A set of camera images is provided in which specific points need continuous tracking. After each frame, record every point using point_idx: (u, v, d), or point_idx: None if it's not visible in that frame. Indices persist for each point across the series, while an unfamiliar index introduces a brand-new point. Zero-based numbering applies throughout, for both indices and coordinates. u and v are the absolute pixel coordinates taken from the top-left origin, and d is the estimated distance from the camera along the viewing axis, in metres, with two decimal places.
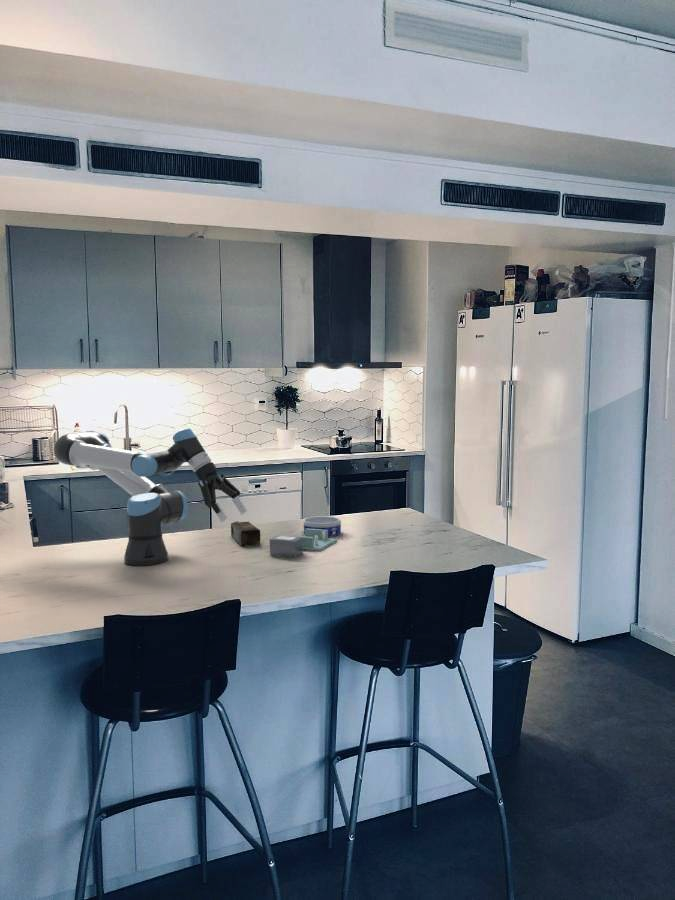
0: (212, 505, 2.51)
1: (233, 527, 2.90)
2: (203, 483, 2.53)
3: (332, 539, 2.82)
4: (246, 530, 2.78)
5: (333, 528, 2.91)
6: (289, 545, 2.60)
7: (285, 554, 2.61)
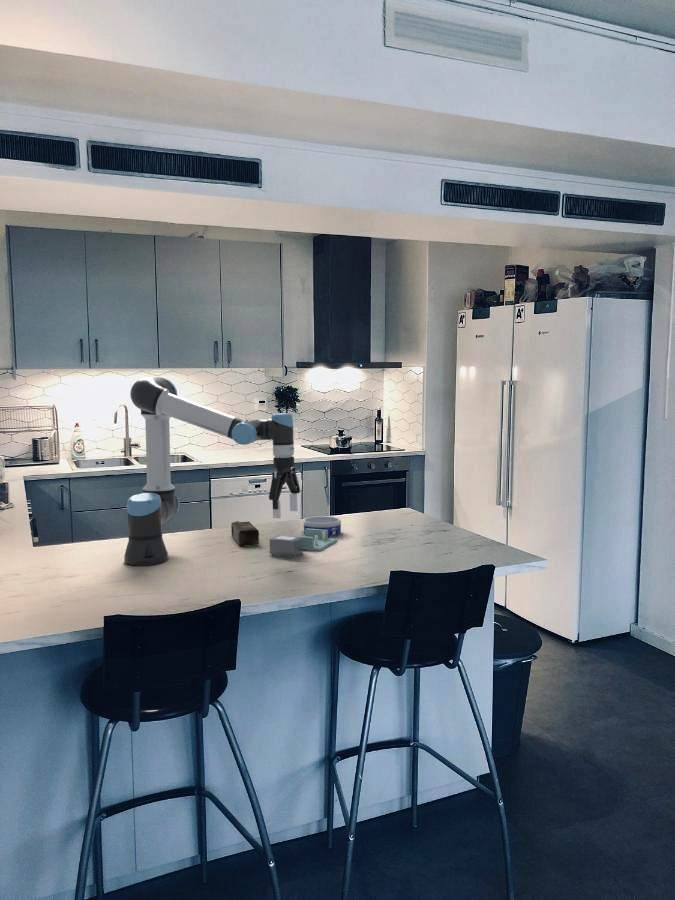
0: (274, 500, 2.54)
1: (233, 527, 2.90)
2: (277, 476, 2.55)
3: (332, 539, 2.82)
4: (244, 530, 2.78)
5: (333, 528, 2.91)
6: (289, 545, 2.60)
7: (285, 554, 2.61)
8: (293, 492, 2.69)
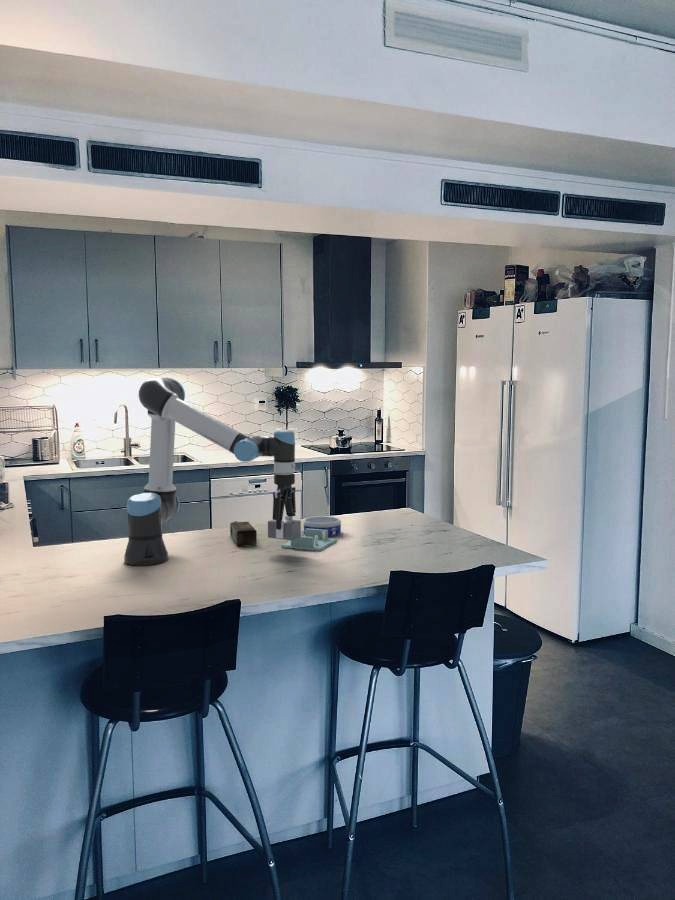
0: (277, 521, 2.58)
1: (232, 527, 2.90)
2: (278, 497, 2.56)
3: (332, 539, 2.82)
4: (242, 530, 2.77)
5: (333, 528, 2.91)
6: (287, 527, 2.59)
7: None
8: (289, 515, 2.67)
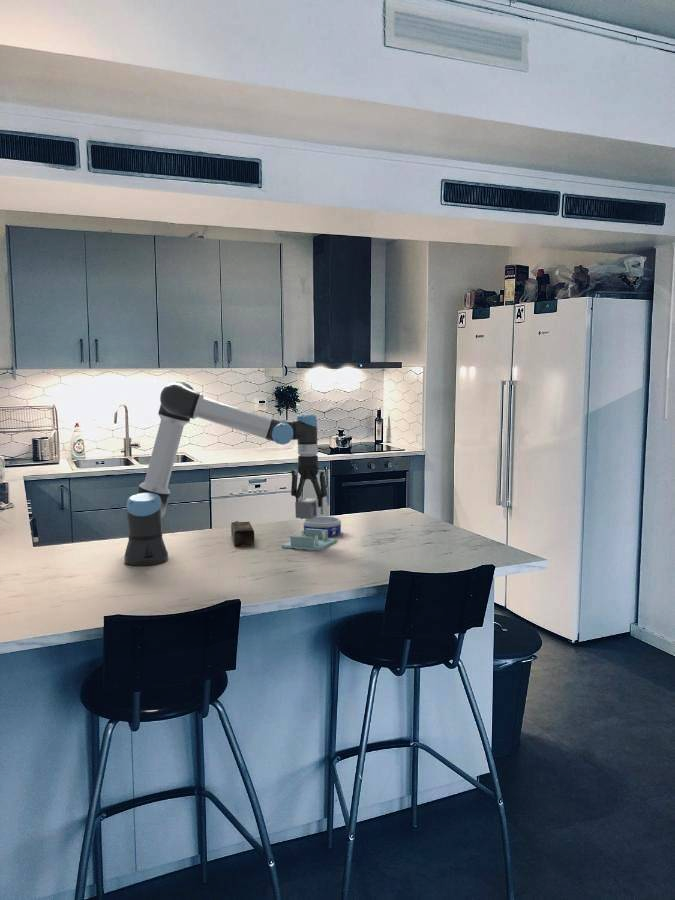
0: None
1: None
2: None
3: (332, 539, 2.82)
4: (240, 530, 2.77)
5: (333, 528, 2.91)
6: None
7: None
8: None
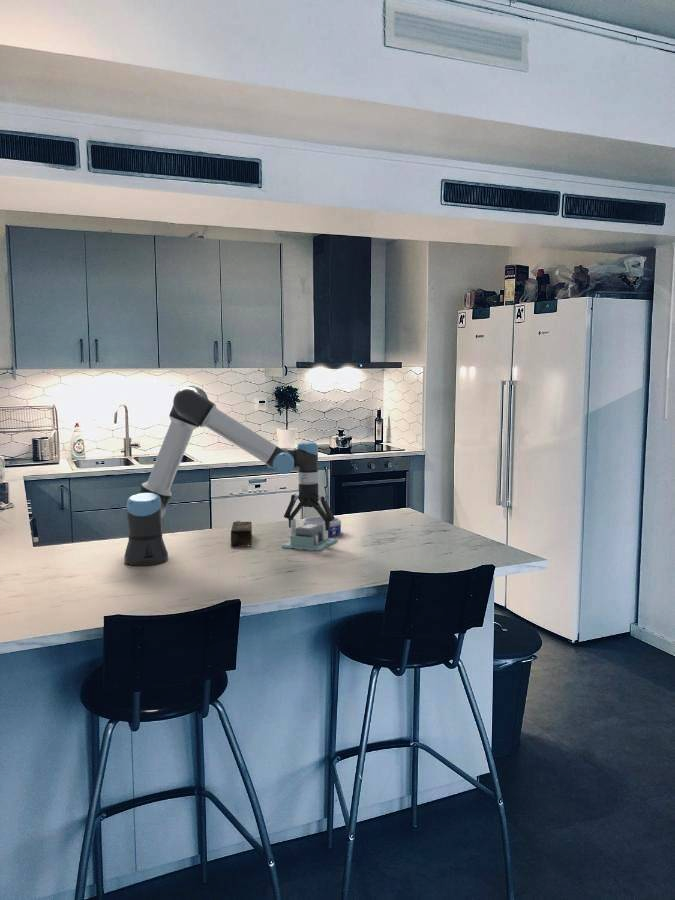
0: None
1: None
2: None
3: (332, 539, 2.82)
4: (236, 530, 2.77)
5: (333, 528, 2.91)
6: None
7: None
8: None
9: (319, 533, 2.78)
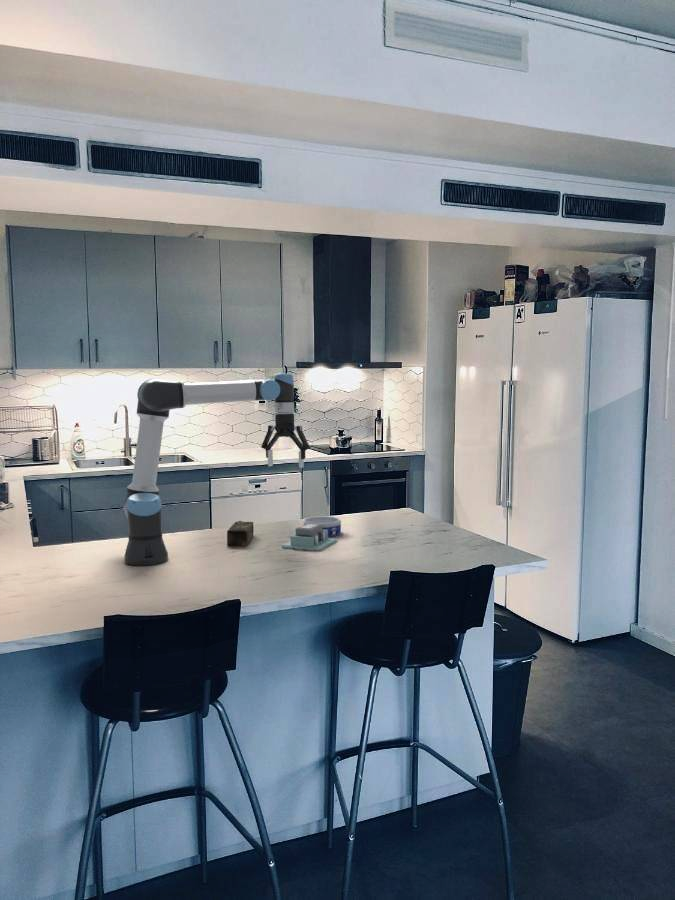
0: None
1: None
2: None
3: (332, 539, 2.82)
4: (233, 530, 2.78)
5: (333, 528, 2.91)
6: None
7: None
8: None
9: (319, 533, 2.78)
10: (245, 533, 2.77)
